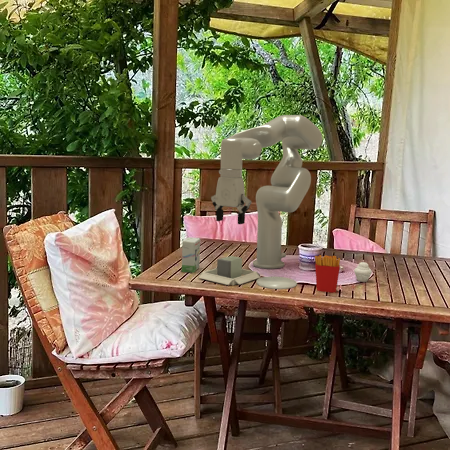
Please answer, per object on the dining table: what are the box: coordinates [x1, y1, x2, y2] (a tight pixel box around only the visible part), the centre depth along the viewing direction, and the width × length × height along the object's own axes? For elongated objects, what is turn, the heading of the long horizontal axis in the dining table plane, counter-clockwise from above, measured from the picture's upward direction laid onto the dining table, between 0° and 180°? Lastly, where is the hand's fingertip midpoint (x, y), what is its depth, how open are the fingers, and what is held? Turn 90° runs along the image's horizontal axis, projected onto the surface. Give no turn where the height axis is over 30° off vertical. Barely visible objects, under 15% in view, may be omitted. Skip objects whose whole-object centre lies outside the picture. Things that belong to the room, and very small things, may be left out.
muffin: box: [353, 261, 373, 283], centre depth 191 cm, size 6×6×7 cm
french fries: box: [314, 254, 341, 293], centre depth 177 cm, size 8×4×12 cm, turn 73°
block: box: [216, 255, 243, 279], centre depth 192 cm, size 8×5×7 cm, turn 141°
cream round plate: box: [256, 276, 298, 290], centre depth 186 cm, size 14×14×1 cm
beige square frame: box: [197, 267, 261, 286], centre depth 192 cm, size 18×18×2 cm
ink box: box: [181, 236, 201, 273], centre depth 202 cm, size 9×5×12 cm, turn 168°
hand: (230, 222), depth 189 cm, fingers open, 9 cm apart
